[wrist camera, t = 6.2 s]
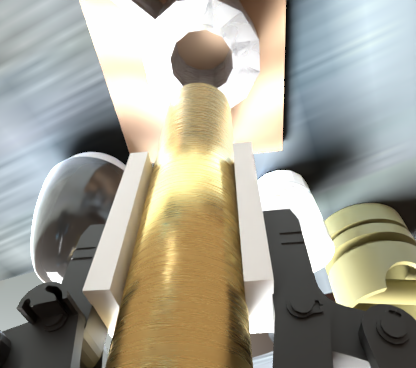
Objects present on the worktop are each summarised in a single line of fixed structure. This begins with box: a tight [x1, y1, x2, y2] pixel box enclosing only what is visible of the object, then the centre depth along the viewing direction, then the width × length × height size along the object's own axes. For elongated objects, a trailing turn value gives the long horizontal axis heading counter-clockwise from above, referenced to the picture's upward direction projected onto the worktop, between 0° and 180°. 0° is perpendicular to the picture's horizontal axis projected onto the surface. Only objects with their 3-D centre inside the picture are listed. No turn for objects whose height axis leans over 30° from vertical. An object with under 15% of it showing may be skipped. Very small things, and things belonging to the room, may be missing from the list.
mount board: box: [79, 0, 286, 163], centre depth 30 cm, size 20×16×2 cm
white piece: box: [112, 0, 260, 108], centre depth 28 cm, size 18×12×5 cm, turn 7°
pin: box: [105, 83, 253, 368], centre depth 13 cm, size 4×4×16 cm
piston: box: [324, 203, 416, 320], centre depth 41 cm, size 11×12×11 cm
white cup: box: [258, 170, 335, 273], centre depth 37 cm, size 8×8×10 cm
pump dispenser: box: [31, 152, 126, 283], centre depth 34 cm, size 10×10×15 cm
